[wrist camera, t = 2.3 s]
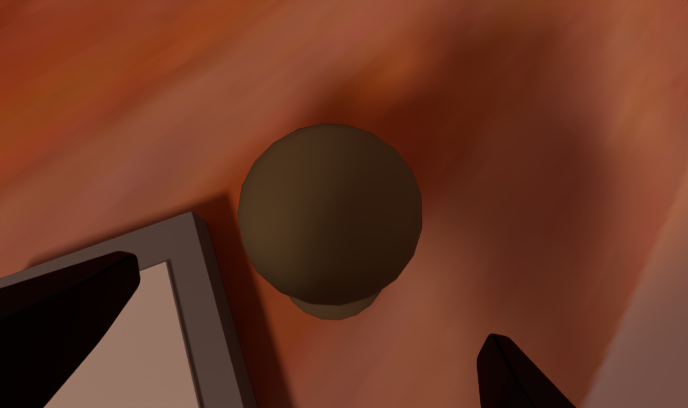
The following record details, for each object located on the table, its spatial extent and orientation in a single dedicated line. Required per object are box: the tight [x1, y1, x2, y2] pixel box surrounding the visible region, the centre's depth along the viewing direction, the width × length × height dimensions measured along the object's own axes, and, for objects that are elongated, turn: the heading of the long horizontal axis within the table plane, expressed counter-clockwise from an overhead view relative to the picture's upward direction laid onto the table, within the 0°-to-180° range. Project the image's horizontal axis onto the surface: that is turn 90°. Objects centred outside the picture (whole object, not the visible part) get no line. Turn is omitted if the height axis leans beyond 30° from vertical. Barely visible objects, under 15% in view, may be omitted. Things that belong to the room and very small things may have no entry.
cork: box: [237, 124, 422, 320], centre depth 13 cm, size 6×6×11 cm
